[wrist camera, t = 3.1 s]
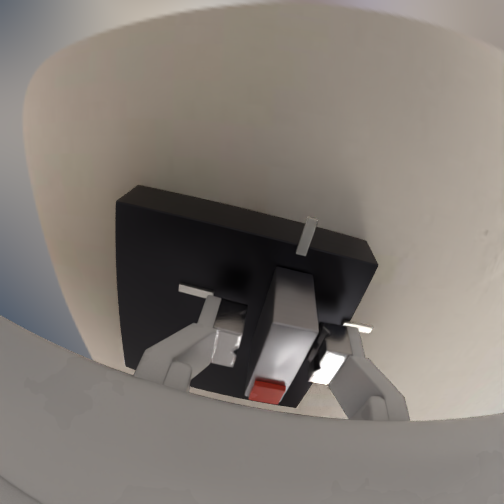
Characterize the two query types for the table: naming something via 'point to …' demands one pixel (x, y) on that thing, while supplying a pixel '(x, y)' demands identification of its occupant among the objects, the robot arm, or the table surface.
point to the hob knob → (282, 335)
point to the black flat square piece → (224, 274)
